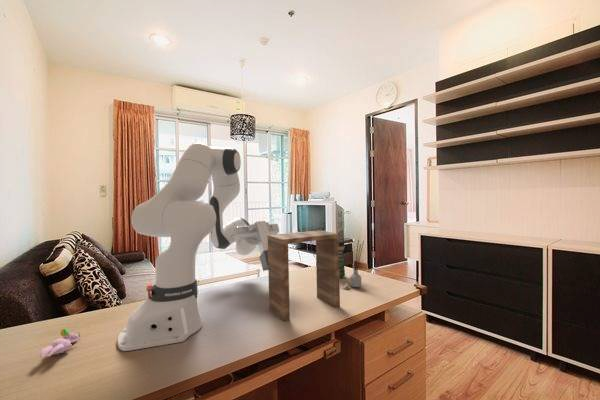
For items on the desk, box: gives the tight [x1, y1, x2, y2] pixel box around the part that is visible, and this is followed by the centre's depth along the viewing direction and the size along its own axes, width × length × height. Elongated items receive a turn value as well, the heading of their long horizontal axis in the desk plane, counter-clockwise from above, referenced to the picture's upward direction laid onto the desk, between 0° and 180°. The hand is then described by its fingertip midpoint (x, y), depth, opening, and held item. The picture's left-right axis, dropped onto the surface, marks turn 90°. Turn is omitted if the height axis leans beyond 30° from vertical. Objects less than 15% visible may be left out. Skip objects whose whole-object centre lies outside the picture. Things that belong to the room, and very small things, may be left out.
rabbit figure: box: [39, 327, 82, 358], centre depth 76 cm, size 6×6×15 cm
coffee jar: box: [339, 237, 346, 279], centre depth 138 cm, size 10×8×19 cm
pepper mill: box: [254, 220, 269, 272], centre depth 116 cm, size 6×21×6 cm
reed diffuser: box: [343, 239, 365, 289], centre depth 121 cm, size 10×7×20 cm
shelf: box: [267, 229, 341, 322], centre depth 101 cm, size 22×12×26 cm, turn 119°
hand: (261, 223), depth 119 cm, fingers closed on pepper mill, 4 cm apart
